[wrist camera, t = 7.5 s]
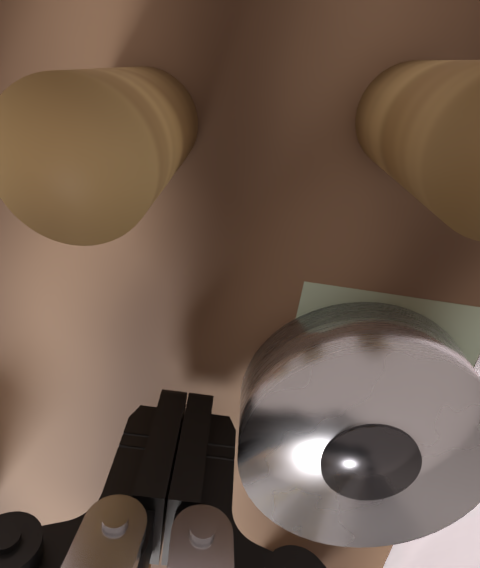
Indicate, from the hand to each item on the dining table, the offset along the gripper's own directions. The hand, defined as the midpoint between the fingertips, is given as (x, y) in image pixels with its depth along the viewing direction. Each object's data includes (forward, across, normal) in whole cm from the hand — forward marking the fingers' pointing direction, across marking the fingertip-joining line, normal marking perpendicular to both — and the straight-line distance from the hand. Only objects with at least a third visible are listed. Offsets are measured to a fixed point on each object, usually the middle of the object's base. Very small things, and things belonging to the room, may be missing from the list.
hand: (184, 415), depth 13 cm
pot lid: (+1, -5, 0) cm, 5 cm away
